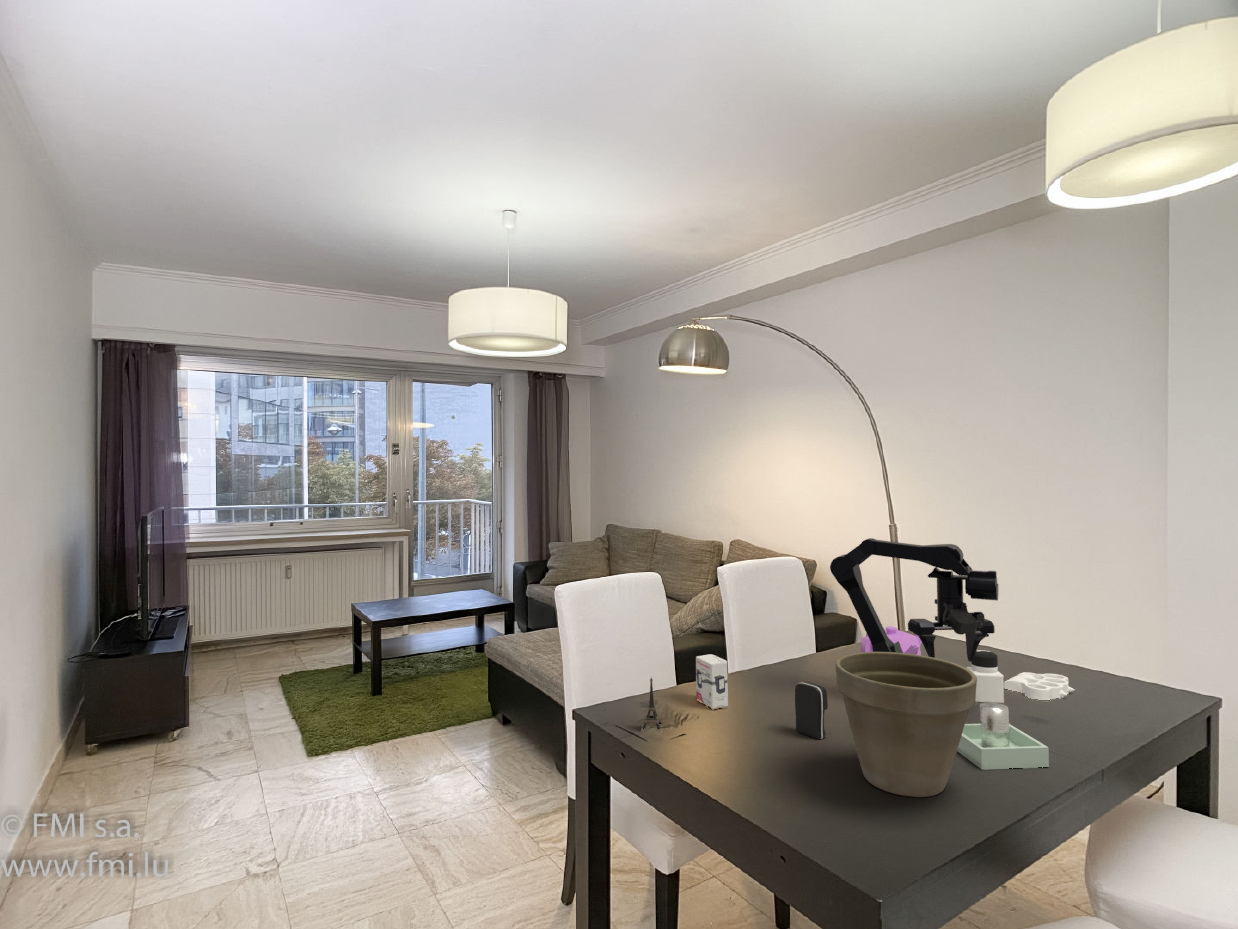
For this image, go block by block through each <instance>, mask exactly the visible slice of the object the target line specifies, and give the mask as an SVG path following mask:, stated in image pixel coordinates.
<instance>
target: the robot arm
mask: <svg viewBox="0 0 1238 929" xmlns="http://www.w3.org/2000/svg"><path fill="white" fill-rule="evenodd" d="M871 556H878V557H879V556H880V557H886V558H894V559H902V560H908V561H909V560H910V561H917V562H920V563H924V564H926V565H929V566H932V567H934V568H933V569H932V571H931V572H929V573H928V574H927V578H930V579H931V578H932V579H933V578H934V579H936V598H934V604H935V605H936V606H937V607H936V608H937V610H936V611H937V615H934V621H935V622H934V621H930V620H928V619H927V618H910V619H909V620H908V621H907V622H908V623H907V630H908V631H909V632H912V633H913V634H914V635H915V636H916V635H918V636H919V638H920V640H921V642H922V643H921V644H922V646H923V647H924V649H925V651H926V654H927V657H933V658H936V653H935V640H936V638H937V637H936V635H934V633H935V631H952V630H953V632H954V633H955V634H957V635H964V636H965V645H966V646H965V647H966V655H967V656H966V657H967V661H968V662H969V663H971V662H972V660H973V658H974V655H975V652H976V651H978V647H979V645H980V643H981V641H982V640H984V639H985V638H987V637H990V634H994V633H995V632H996V630H995V625H994V623H993V621H992V620H989V619H987V618H985V614H984V613H983V612H982V611H973V612H969V611H968V605H967V602H964V592H965V594H966V595H968V596H969V597H970V599H973V600H984V601H985V600H986V601H999V583H998V577H997V571H996V570H973V568H972V567H971V566H970V565H969V563H968V562H967V561H966V560H965V558H964V553H963V551H962V549H961V548H960V546H958V545H956V544H953V543H941V544H940V543H937V544H924V545H923V544H922V545H921V544H916V543H915V544H913V543H905V542H899V541H898V542H896V541H889V540H883V539H881V540H880V539H875V538H872V537H871V538H870V537H869V538H867V539H863V541H861V543H860V544H858V546H855V548H853V549H851V550H850V551H849V552H847V553H845V554H842V555H839V556H837V557H835V558H833V559H832V561H831V563H830V566H829V568H830V569H829V570H830V573H831V575H832V576H833V578H835V580H836V581H837V583H838V584H839V585H840V586H841V587H842V588H843V590H845V591H846V593H847V594H848V597H849V598H850V601H851V603H852V605H853V607H854V610H855V611H856V614H857V616H858V618H859V620H860V622H861V624H862V626H863V628H864V631H865V634H866V633H867V635H868V637H869V639H870V641H871V644H872V649H873V652H895V653H903V651H902V649H901V646H900V643H899V641H897V642H896V643H893V642H892V641H891V640H890V639H889V638H888V636H887V634H886V632H885V630H884V629H885V628H884V626H883V624H882V622H881V621H880V617H879V616H878V613H877V611H876V610H875V608H874V605H873V603H872V602H871V599H870V597H869V595H868V593H867V591H866V589H865V587H864V583H863V575H862V571H861V567H860V565H862V563H864V562H865V561H866V560H867V559H869V558H870V557H871ZM941 569H942V570H941ZM954 573H955V574H954ZM964 582H965V583H964ZM964 588H965V589H964ZM964 590H965V591H964Z"/></svg>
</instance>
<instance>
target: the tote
mask: <svg viewBox="0 0 1238 929" xmlns="http://www.w3.org/2000/svg"><path fill="white" fill-rule="evenodd" d="M1009 741H1010V747H989V748H983V747H982V746H981V723H965V725H964V729H963V732H962V736H961V739H960V742H959V746H958V749H957V753H959V754H960V755H962V756H963V757H964V758H966V759H967V760H968V761H969V762H971V763H973V765H975V766H976V767H978V769H980V770H981V771H982V770H985V771H986V770H987V771H988V770H1010V769H1009V768H1012V769H1011V770H1014V769H1013V768H1023V769H1039V768H1038V767H1042V768H1041V769H1044V768H1043V767H1049V768H1050V755H1049V754H1050V750H1049V747H1048V746H1047V745H1045V744H1044V743H1042V742H1041V741H1039V740H1037V739H1035V738H1034V737H1032V736H1031V735H1029V734H1028V733H1026V732H1023V731H1022V730H1020V729H1019V728H1017V727H1015V726H1013V725H1012V724H1011V723H1009Z"/></svg>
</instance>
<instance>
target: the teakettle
mask: <svg viewBox="0 0 1238 929" xmlns="http://www.w3.org/2000/svg"><path fill="white" fill-rule="evenodd" d="M884 630H885V632H886V634H887V636H888V638H889V639H890V640H891V641H892V642H893V643H896V642H897V641H899V643H900V646H901V649H902V651H903V653H906V654H914V655H921V656H922V652H921V645H922V644H923V643H922V642H921V640H920V638H919V636H918V635H916V634H914V635H913V634H911V633H909V632H906V631H902V630H898V628H897V627H896V626H886V627H885V628H884ZM861 652H873V649H872V644H871V641H870V639H869V637H868V635H867V633H866V632H865V636H864V637H861V643H860V653H861Z"/></svg>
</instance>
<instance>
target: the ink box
mask: <svg viewBox="0 0 1238 929" xmlns="http://www.w3.org/2000/svg"><path fill="white" fill-rule="evenodd" d="M695 673H696V674H695V682H696V683H695V694H696V695H695V698H697V699H699V700H701V701H702V702H703V703H705V704H706V705H709V706H710V707H711V708H717V707H723V706H728V707H729V691H728V688H729V686H728V661H727V660H726V659H724V658H722V657H719V656H718V655H714V654H703V655H698V656H697V655H696V656H695Z"/></svg>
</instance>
